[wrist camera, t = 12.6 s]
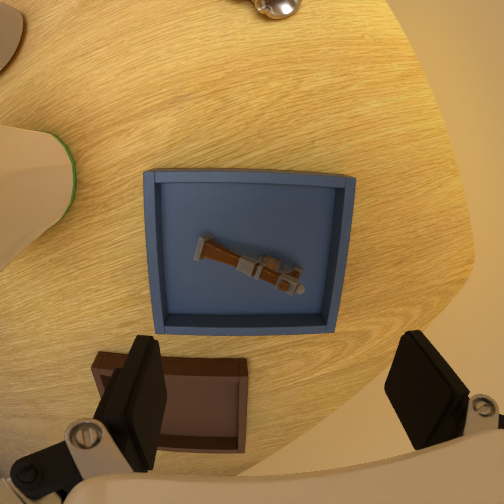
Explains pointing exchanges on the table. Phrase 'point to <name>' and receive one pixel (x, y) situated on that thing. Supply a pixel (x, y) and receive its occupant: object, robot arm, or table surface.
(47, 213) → the cup
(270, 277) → the wooden post with brackets
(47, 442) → the table surface
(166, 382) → the walnut tray
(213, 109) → the table surface
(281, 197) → the blue tray
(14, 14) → the can
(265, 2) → the ornament
